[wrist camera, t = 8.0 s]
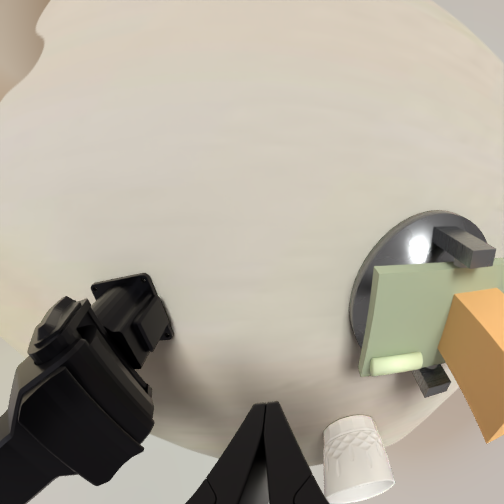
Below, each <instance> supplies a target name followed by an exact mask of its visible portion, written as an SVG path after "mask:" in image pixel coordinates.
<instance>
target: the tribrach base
mask: <svg viewBox="0 0 504 504" xmlns="http://www.w3.org/2000/svg"><path fill="white" fill-rule="evenodd" d="M495 252H496V249H495V248H494V247H492V246H490V245H489V244H487V242H486V239H485V237H484V235H483V234H482V232H481V231H480V230H479V228H478V227H477V226H476V225H475V224H473V223H472V222H471V221H470V220H468V219H466V218H464V217H462V216H460V215H458V214H455V213H452V212H449V211H442V210H434V211H427V212H423V213H419V214H416V215H414V216H412V217H409V218H408V219H406V220H404V221H402V222H401V223H399V224H398V225H396V226H395V227H394V228H392V229H391V230H390V231H389V232H388V233H387V234H386V235H384V236H383V237H382V238H381V239H380V240H379V242H378V243H377V244H376V245H375V246H374V247H373V249H372V250H371V252H370V253H369V254H368V256H367V257H366V259H365V261H364V262H363V264H362V266H361V268H360V270H359V272H358V274H357V277H356V279H355V282H354V285H353V289H352V292H351V298H350V311H349V313H350V322H351V325H352V329H353V332H354V334H355V337H356V339H357V341H358V343H359V345H360V347H361V348H362V345H363V340H364V334H365V329H366V323H367V316H368V310H369V303H370V295H371V287H372V279H373V269H374V266H388V265H407V264H423V263H439V262H454V258H456V259H457V260H458V261H460V262H461V263H462V264H464V265H465V266H466V267H468V268H469V269H474V268H482V267H490V266H493V262H494V257H495ZM412 373H413V375H414V377H415V379H416V381H417V383H418V385H419V387H420V389H421V391H422V393H423V395H424V398H425V397H429V396H432V395H435V394H439V393H442V392H445V391H447V389H448V387H449V385H450V383H451V381H450V379H449V378H448V376H447V374H446V373H445V371H444V369H443V368H442V366H441V364H438V365H437V367H436V368H435V369H429V368H427V367H423V368H421V369H417V370H412Z"/></svg>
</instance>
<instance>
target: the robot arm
mask: <svg viewBox="0 0 504 504" xmlns="http://www.w3.org/2000/svg"><path fill="white" fill-rule="evenodd" d="M142 278H144V279H145V280H146V281H144V280H143V279H142ZM95 287H96V288H97V289H96V288H95ZM91 290H92V293H93V295H94V297H95V299H96V302H95V303H94V304H93V305H92V306H91V304H90V302H89V300H88V299H87V298H86V299H84V300H81V301H78V302H76V301H75V300H72V299H71V298H69V297H67V296H65V297H63V298H62V299H60V300H59V301H58V302H57V303H56V304H55V305H54V306H53V307H51V308H50V309H49V311H48V312H47V313H46V315H45V316H44V318H43V320H42V321H41V323H40V324H39V325H37V326H36V328H35V330H34V333H33V336H32V339H31V342H30V345H29V348H28V354H29V356H28V357H27V358H26V359H25V360H24V361H23V362H22V363H21V364H20V365H19V366H18V367H17V369H16V372H15V377H14V381H13V385H12V390H11V395H10V400H9V406H8V410H7V411H6V412H5V413H4V414H3V415H2V416H1V417H0V504H27V503H28V502H29V501H30V500H31V499H33V498H34V497H35V496H36V495H37V494H38V493H40V492H41V491H42V490H43V489H44V488H45V487H46V486H47V485H49V484H50V483H51V482H52V481H53V480H55V479H56V478H58V477H59V476H68V475H78V474H79V475H80V476H81V477H83V478H84V479H86V480H87V481H89V482H90V483H92V484H93V485H95V486H99V485H101V484H104V483H106V482H108V481H110V480H111V478H112V477H113V476H114V475H115V473H116V472H117V471H118V470H119V468H120V467H121V466H122V465H123V464H124V463H125V462H127V461H128V460H129V459H130V458H132V457H133V456H135V455H137V454H139V453H141V452H143V450H144V447H142V446H141V445H140V444H141V443H142V442H143V441H144V439H145V438H146V437H147V436H148V435H149V433H150V432H151V430H152V428H153V426H154V420H153V419H152V418H153V411H154V405H153V401H152V388H151V387H150V386H149V385H148V384H146V383H145V382H144V381H143V379H142V378H141V377H140V376H139V374H138V373H137V372H136V371H135V369H141V367H142V365H143V364H144V362H145V360H146V358H147V356H148V354H149V352H153V351H154V349H155V347H156V345H157V343H158V341H159V340H169V339H171V338H172V337H173V331H172V328H171V326H170V324H169V319H168V317H167V315H166V312H165V310H164V308H163V305H162V303H161V301H160V298H159V297H158V296H157V294H156V291H155V289H154V286H153V284H152V281H151V279H150V277H149V275H148V274H146V273H140V274H136V275H131V276H126V277H121V278H116V279H111V280H106V281H102V282H97V283H94V284H93V285H92V286H91ZM166 333H168V334H169V335H168V334H166ZM206 478H207V479H205V480H204V481H203V483H202V484H201V485H200V487H199V488H198V489H197V491H196V492H195V493H194V494H193V496H192V497H191V498H190V499H189V500H188V501H187V502H186V503H185V504H268V503H269V504H330V503H329V502H328V500H327V499H326V497H325V496H324V495H323V493H322V491H321V489H320V487H319V486H318V484H317V482H316V480H315V478H314V476H313V475H312V472H311V470H310V468H309V466H308V464H307V462H306V460H305V457H304V455H303V453H302V451H301V449H300V447H299V445H298V443H297V441H296V438H295V436H294V434H293V432H292V430H291V428H290V426H289V423H288V421H287V419H286V417H285V415H284V412H283V410H282V408H281V406H280V404H279V402H278V401H274V402H268V403H267V404H266V403H256V404H254V405H253V407H252V408H251V410H250V412H249V413H248V415H247V416H246V418H245V420H244V421H243V423H242V425H241V426H240V428H239V429H238V431H237V433H236V434H235V436H234V437H233V439H232V440H231V442H230V443H229V445H228V446H227V448H226V449H225V451H224V452H223V454H222V455H221V457H220V458H219V460H218V462H217V463H216V464H215V466H214V467H213V469H212V470H211V472H210V473H209V474H208V476H207V477H206Z"/></svg>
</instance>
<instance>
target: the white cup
mask: <svg viewBox="0 0 504 504" xmlns="http://www.w3.org/2000/svg"><path fill="white" fill-rule="evenodd" d="M323 439H324V450H323V456H324V459H323V463H324V496H325V497H326V499H327V500H328V502H329V503H330V504H346V503H353V502H357V501H361V500H365V499H368V498H371V497H374V496H377V495H379V494H381V493H383V492H385V491H387V490H388V489H390V488H391V487H393V486H394V484H395V479H394V476H393V473H392V470H391V467H390V463H389V460H388V457H387V454H386V451H385V449H384V446H383V443H382V440H381V437H380V435H379V434H378V431H377V428H376V425H375V422H374V420H373V419H372V418H371V417H369V416H365V415H354V416H349V417H345V418H342V419H339V420H337V421H335V422H334V423H332V424H330V425H329V426H328V427H327V428H326V429H325V430H324V433H323Z"/></svg>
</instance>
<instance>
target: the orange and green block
mask: <svg viewBox="0 0 504 504" xmlns="http://www.w3.org/2000/svg"><path fill="white" fill-rule="evenodd" d="M442 363H446V364H447V365H448V367H449V369H450V371H451V372H452V374H453V376H454V378H455V380H456V381H457V383H458V385H459V387H460V389H461V390H462V393H463V394H464V397H465V398H466V400H467V402H468V404H469V406H470V408H471V411H472V412H473V414H474V417H475V419H476V421H477V423H478V425H479V428H480V430H481V432H482V434H483V437H484V439H485V441H486V443H489V442H491V441H493V440H495V439H497V438H498V437H500V436H502V435H504V258H495V259H494V262H493V266H490V267H482V268H474V269H469V268H468V267H466V266H465V265H464V264H462V263H461V262H460V261H458V260H457V259H456V258H454V262H439V263H423V264H407V265H388V266H374V269H373V279H372V287H371V295H370V303H369V310H368V316H367V323H366V329H365V334H364V340H363V345H362V350H361V355H360V360H359V365H358V369H359V372H360V376H361V377H365V376H380V375H387V374H394V373H400V372H406V371H412V370H417V369H421V368H423V367H427V368H429V369H435V368H436V367H437V365H438V364H442Z"/></svg>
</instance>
